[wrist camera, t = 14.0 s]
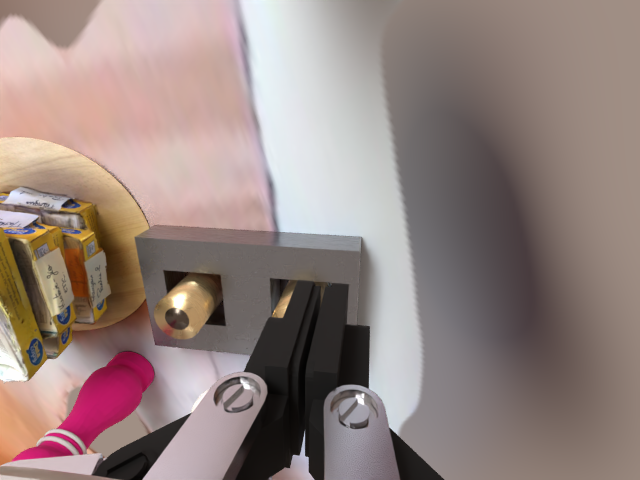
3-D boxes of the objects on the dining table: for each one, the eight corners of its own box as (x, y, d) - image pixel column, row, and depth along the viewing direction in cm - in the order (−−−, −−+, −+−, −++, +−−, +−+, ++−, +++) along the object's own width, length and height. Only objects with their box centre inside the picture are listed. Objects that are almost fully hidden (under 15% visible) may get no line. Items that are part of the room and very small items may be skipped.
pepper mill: (168, 376, 51) (50, 535, 32) (135, 395, 53) (8, 553, 35) (132, 339, 49) (-13, 484, 31) (100, 361, 52) (-52, 507, 33)
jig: (155, 224, 42) (108, 251, 35) (361, 236, 39) (358, 269, 32) (172, 325, 47) (134, 368, 40) (355, 343, 44) (351, 392, 37)
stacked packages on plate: (169, 179, 40) (40, 229, 25) (144, 348, 50) (40, 460, 34) (-38, 106, 40) (-291, 111, 25) (-23, 288, 50) (-200, 372, 35)
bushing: (286, 268, 42) (267, 305, 35) (329, 271, 41) (319, 309, 34) (287, 305, 44) (270, 348, 36) (328, 309, 43) (319, 353, 36)
